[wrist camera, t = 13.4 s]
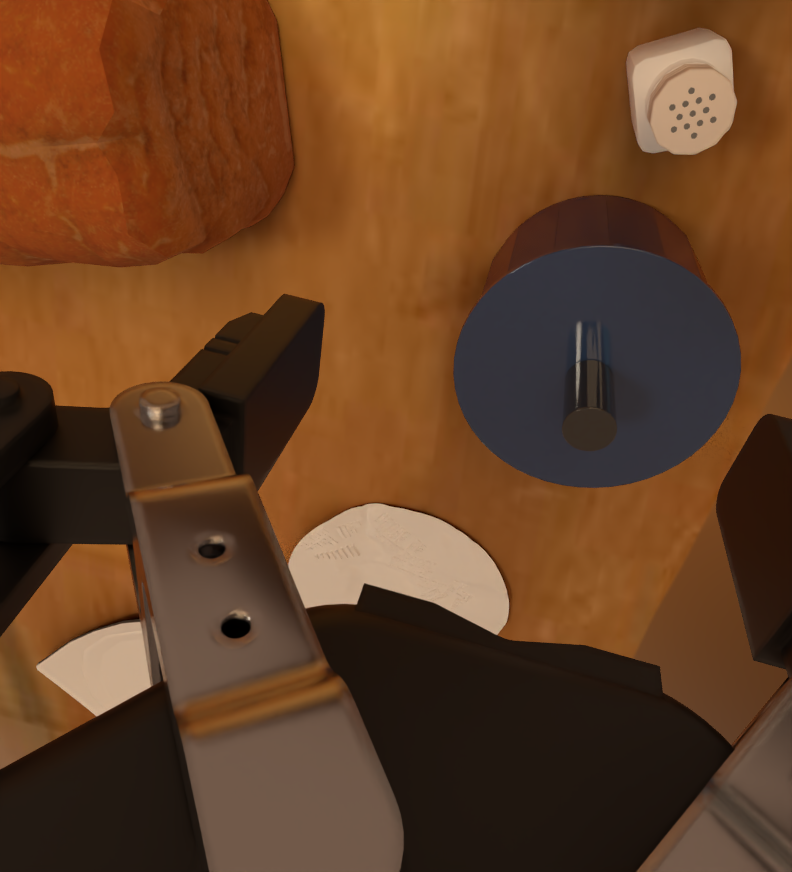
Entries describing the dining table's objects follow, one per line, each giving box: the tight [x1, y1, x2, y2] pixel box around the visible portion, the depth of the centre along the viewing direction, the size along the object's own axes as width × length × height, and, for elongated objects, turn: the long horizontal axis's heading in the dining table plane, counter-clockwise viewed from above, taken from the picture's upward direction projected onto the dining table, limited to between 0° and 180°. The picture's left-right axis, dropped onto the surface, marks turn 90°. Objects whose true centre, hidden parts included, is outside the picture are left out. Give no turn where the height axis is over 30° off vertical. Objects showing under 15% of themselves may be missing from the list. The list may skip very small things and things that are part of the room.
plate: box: [37, 619, 151, 716], centre depth 79 cm, size 29×29×3 cm
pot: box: [482, 195, 707, 295], centre depth 38 cm, size 13×13×10 cm
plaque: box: [288, 503, 509, 635], centre depth 60 cm, size 20×20×2 cm
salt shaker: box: [626, 28, 737, 155], centre depth 30 cm, size 4×4×10 cm
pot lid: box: [453, 242, 741, 488], centre depth 32 cm, size 14×14×6 cm
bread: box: [0, 0, 294, 267], centre depth 36 cm, size 14×27×15 cm, turn 93°
